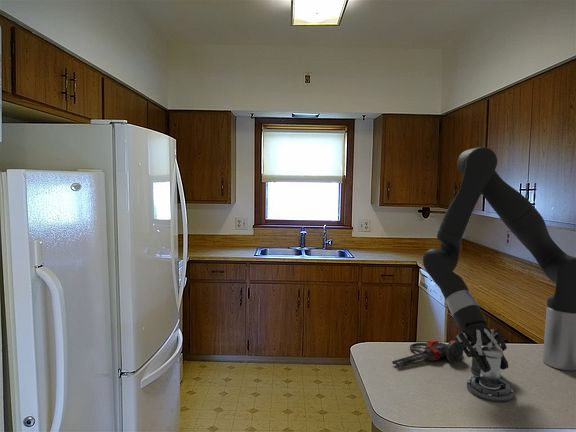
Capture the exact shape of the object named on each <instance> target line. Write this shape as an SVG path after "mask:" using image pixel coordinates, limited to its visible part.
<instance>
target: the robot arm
mask: <svg viewBox="0 0 576 432" xmlns="http://www.w3.org/2000/svg"><path fill="white" fill-rule="evenodd" d="M497 166H498V157H497V154H496V153H495V152H494V150H492V149H491V148H488V147H486V146H485V147H484V146H480V147H479V146H478V147H473V148H470V149H467V150H464V151H463V152H461V153H460V155H459V157H458V158H457V168H458V171H459V173H460V174H461V176H463V177H462V181H461V184H460V186H459V189H458V191H457V193H456V195H455V196H454V198H453V200H452V202H451V203H450V205H448V208H447V210H446V211H445V214H444V215H443V217H442V219H441V222H440V226H439V228H438V231H437V234H436V238H437V240H438V241H439V242H440V249H438V248H430V249H428V250H426V251H425V253H424V254H423V256H422V264H423V267H424V270H425V271H426V272H427V274H428V275H429V276H430V278H431V279H432V280H433V282H434V283H435V285H437V286H438V288H439V289H440V291H441V294H442V296H443V297H444V299H445V302H446V304H447V308H448V309H449V311H450V313H451V315H452V317H453V319H454V321H455V323H456V325H457V327H458V329H459V331H461V332H460V333H458V334H457V335H456V336H454V339H455V340H456V341H457V342H458V344H459V345H460V347H461V348H462V350H463V353H464V354H465V355H466V357H467V358H472V357H474V358H475V359H476V360H477V362H478V364H479V366H480V368H481V370H482V371H483V372H484V373H486V372H488V371H490V370H491V368H490V366H489V364H488V362H487V360H486V358H485V357H484V356H482V354H483V353H482V346H485V347H495V348H497V349H499V350H501V351H502V353H503V352H504V351H506V350H507V348H508V347H507V345H506V341H505V339H504V336H503V334H502V331H501V329H500V328H498V327H497V328H495V329H492V328H490V327H489V326H488V324H487V318H486V317H485V315H484V313H483V312H482V309H481V307H480V306H479V304H478V302H477V300H476V299H475V297H474V296H473V294H472V293H471V292H470V289H469V287H468V286H467V284H466V282H465V281H464V279H463V278H462V277H461V276H460V275H459V274H457V273H455V271H454V270H455V269H456V267H457V266H458V263H459V257H460V249H461V241H462V239H463V236H464V233H465V231H466V229H467V226H468V223H469V220H470V219H471V216H472V213H473V212H474V209H475V206H476V205H477V204H478V200H479V198H480V197H481V195H482V196H483V197H484V199H485V200H486V201H487V202H488V204H489V205H490V207H491V208H492V210H493V211H494V212H495V214H496V215H497V216H498V217H499V218H500V220H502V222H503V223H504V225H505V226H506V227H507V228H508V229H509V231H510V232H511V233H512V234H513V235H514V236H515V237H516V238H517V240H518V241H519V242H520V243H521V244H522V245H523V246H524V247H525V248H526V249H527V250H528V251H529V252H530V254H531V255H532V256H533V258H534V259H535V261H536V262H537V264H538V266H539V267H540V269H541V270H542V271H543V273H544V274H545V276H546V277H547V278H548V279H549V280H550V281H552V282H553V283H555V290H554V294H553V295H550V296H548V297H547V299H546V309H545V310H546V311H545V326H544V338H543V340H544V341H543V350H542V351H543V352H542V362H543V364H546V365H547V366H549V367H552V368H555V369H559V370H563V371H571V372H572V371H573V372H574V371H576V256H572V255H569V254H567V253H566V252H565V251H563V250H562V248H561V247H559V246H558V244H557V243H556V242H555V241H554V240H553V238H552V237H551V236H550V233H549V231H548V227H547V225H546V222H545V220H544V217H543V216H542V215H541V213H540V212H539V211H538V210H537V209H536V207H535V206H534V205H533V203H531V201H530V200H529V199H527V197H525V196H524V195H523V194H522V193H520V192H519V191H518V190H517V189H515V187H512V186H511V185H510V184H508V183H507V182H506V181H505V180H503V178H501V176H500V175H499V174H498V173H497V171H496V169H497ZM488 343H491V344H488ZM508 368H509V362H508V360H507V359H506V357H505V355H504V353H503V355H502V357H501V369H500V370H502V371H504V370H506V369H508Z"/></svg>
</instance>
